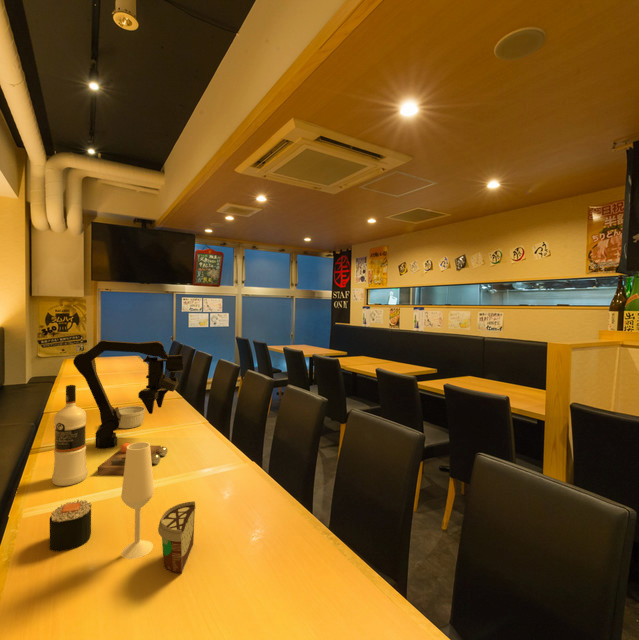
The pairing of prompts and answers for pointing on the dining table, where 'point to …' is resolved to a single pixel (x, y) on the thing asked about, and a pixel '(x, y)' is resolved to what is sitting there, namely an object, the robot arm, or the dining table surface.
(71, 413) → the vodka
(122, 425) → the ramekin
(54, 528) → the sushi
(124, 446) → the ball
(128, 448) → the champagne flute
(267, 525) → the dining table surface
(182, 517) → the food container
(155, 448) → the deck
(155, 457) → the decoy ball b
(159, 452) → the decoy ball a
